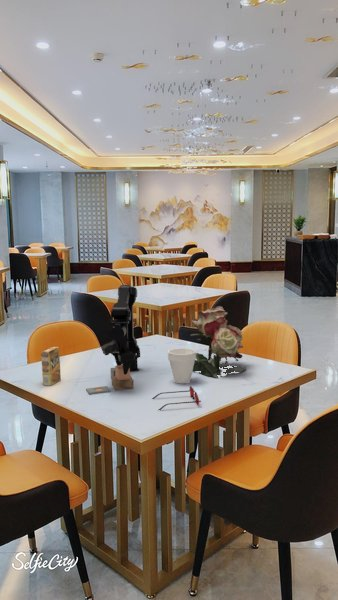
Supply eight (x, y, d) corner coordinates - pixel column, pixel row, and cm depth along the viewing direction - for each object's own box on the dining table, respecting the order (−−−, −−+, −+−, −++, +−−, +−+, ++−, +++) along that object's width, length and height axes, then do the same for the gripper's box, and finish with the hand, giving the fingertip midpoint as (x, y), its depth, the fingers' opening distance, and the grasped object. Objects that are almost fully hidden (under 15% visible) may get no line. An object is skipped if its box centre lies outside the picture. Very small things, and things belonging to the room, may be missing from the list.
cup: (181, 375, 233) (181, 346, 231) (202, 381, 225) (202, 350, 223) (162, 381, 225) (162, 351, 223) (182, 387, 216) (182, 356, 214)
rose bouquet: (223, 381, 224) (223, 313, 220) (178, 368, 246) (177, 306, 242) (260, 370, 241) (261, 307, 237) (215, 358, 263) (215, 301, 259)
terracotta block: (126, 375, 222) (126, 364, 221) (129, 379, 217) (129, 367, 216) (115, 377, 220) (115, 365, 219) (118, 380, 215) (118, 368, 215)
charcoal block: (121, 377, 233) (121, 366, 232) (124, 380, 228) (124, 369, 227) (110, 378, 231) (110, 368, 230) (113, 381, 226) (113, 370, 226)
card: (107, 387, 218) (107, 385, 217) (110, 391, 212) (110, 389, 212) (86, 390, 214) (86, 388, 214) (89, 394, 209) (89, 392, 209)
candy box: (51, 386, 221) (49, 351, 219) (42, 385, 222) (40, 350, 220) (61, 380, 229) (59, 346, 227) (52, 379, 231) (51, 346, 228)
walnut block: (130, 383, 224) (130, 375, 223) (133, 389, 216) (133, 380, 216) (111, 385, 222) (111, 376, 221) (114, 391, 214) (114, 381, 214)
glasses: (201, 408, 192) (201, 395, 192) (157, 411, 189) (157, 398, 189) (192, 396, 206) (192, 384, 205) (151, 399, 203) (151, 387, 202)
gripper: (97, 333, 222) (98, 368, 224) (108, 341, 204) (109, 379, 207) (121, 331, 226) (122, 365, 228) (134, 339, 208) (135, 376, 211)
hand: (122, 371), depth 218 cm, fingers open, 9 cm apart
